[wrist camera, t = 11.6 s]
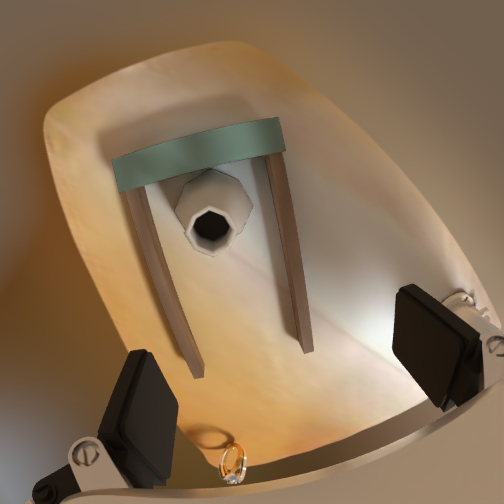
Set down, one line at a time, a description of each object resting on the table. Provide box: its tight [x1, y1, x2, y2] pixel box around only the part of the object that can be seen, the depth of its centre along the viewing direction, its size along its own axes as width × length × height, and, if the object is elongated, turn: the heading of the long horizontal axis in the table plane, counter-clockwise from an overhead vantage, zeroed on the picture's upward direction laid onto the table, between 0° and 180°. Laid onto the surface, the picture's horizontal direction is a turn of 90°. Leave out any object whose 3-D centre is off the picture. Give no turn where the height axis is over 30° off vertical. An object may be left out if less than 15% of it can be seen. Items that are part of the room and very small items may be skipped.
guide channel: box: [112, 117, 314, 379], centre depth 26 cm, size 14×25×4 cm, turn 12°
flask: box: [174, 169, 253, 257], centre depth 22 cm, size 7×7×10 cm
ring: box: [219, 443, 247, 484], centre depth 35 cm, size 7×3×8 cm, turn 142°
